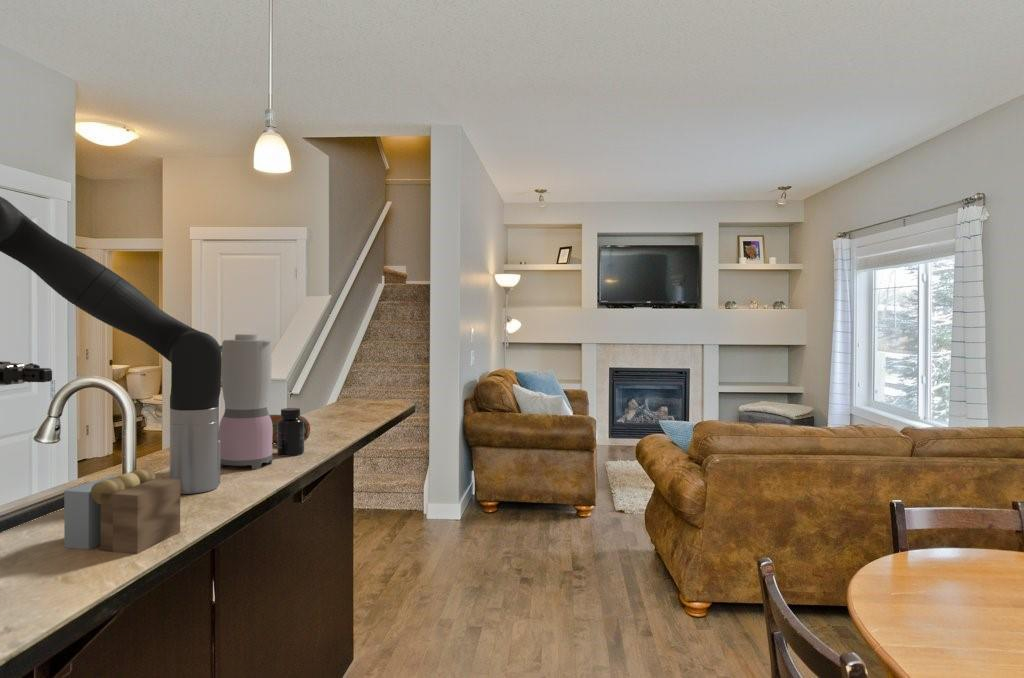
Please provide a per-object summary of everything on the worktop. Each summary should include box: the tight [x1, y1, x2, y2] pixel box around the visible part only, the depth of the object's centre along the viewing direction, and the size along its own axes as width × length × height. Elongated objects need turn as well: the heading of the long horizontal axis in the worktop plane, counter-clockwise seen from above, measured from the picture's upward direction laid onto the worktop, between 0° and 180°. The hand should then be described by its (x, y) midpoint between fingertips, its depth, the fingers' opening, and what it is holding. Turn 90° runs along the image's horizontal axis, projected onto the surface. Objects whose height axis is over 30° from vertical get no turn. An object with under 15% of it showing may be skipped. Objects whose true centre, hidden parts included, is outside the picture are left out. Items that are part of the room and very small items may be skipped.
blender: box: [219, 333, 274, 470], centre depth 155 cm, size 16×12×32 cm
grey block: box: [63, 472, 140, 550], centre depth 103 cm, size 10×8×11 cm
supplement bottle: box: [276, 407, 305, 456], centre depth 169 cm, size 7×7×12 cm
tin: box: [269, 414, 311, 443], centre depth 182 cm, size 15×3×8 cm, turn 81°
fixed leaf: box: [91, 466, 181, 554], centre depth 103 cm, size 10×8×11 cm
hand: (48, 375), depth 105 cm, fingers closed
